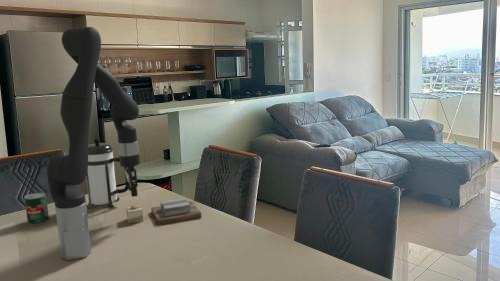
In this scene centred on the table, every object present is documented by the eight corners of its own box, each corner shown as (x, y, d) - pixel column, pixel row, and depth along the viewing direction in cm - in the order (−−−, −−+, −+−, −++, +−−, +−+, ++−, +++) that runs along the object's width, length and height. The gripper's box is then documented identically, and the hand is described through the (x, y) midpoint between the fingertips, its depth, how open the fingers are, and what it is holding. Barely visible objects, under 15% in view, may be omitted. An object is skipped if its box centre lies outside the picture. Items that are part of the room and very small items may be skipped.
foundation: (201, 217, 171) (200, 205, 170) (158, 225, 165) (157, 212, 164) (191, 205, 186) (190, 194, 185) (151, 212, 180) (150, 200, 179)
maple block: (143, 221, 170) (142, 207, 169) (129, 223, 168) (127, 209, 167) (141, 216, 175) (140, 203, 174) (127, 219, 173) (126, 205, 172)
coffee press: (95, 213, 181) (87, 143, 176) (80, 204, 193) (73, 139, 188) (132, 202, 193) (126, 137, 187) (116, 195, 205) (110, 133, 199)
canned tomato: (47, 216, 179) (43, 191, 177) (51, 221, 173) (47, 195, 171) (26, 221, 175) (22, 195, 173) (29, 226, 169) (25, 200, 167)
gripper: (141, 155, 161) (145, 196, 165) (136, 148, 174) (140, 186, 178) (120, 158, 159) (125, 200, 162) (117, 150, 172) (121, 189, 175)
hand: (133, 193), depth 170 cm, fingers open, 8 cm apart
